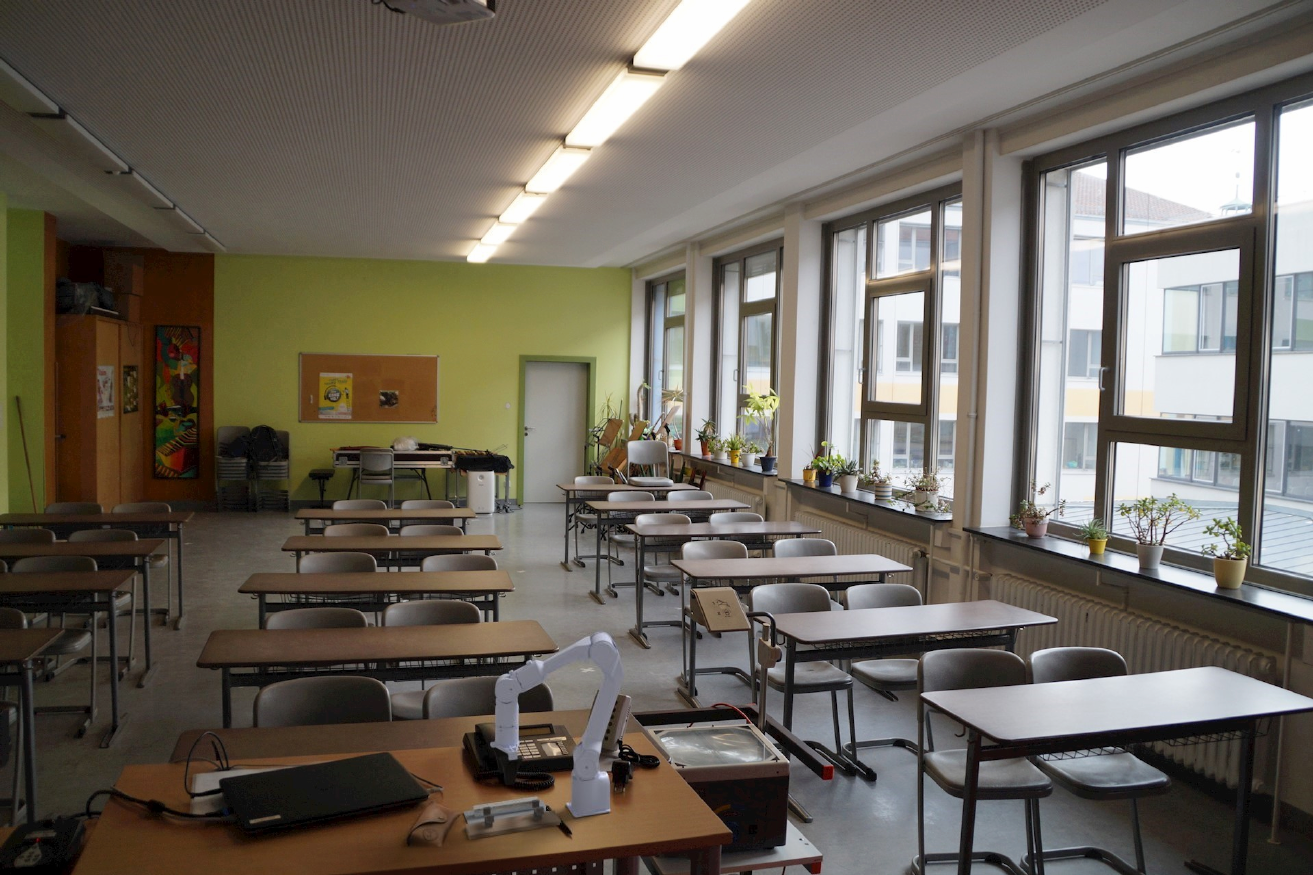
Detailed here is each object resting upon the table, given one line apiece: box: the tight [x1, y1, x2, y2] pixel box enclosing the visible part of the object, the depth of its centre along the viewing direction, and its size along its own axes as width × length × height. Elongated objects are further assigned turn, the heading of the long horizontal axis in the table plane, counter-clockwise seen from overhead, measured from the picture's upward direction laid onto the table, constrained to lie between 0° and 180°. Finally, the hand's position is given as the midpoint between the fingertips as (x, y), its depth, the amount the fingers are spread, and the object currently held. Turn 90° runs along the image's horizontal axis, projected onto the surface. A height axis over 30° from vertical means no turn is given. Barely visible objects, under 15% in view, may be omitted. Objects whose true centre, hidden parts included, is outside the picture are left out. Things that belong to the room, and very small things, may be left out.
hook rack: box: [464, 798, 562, 840], centre depth 216 cm, size 22×6×5 cm, turn 112°
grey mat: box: [463, 799, 547, 824], centre depth 223 cm, size 20×7×1 cm, turn 112°
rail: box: [472, 795, 539, 818], centre depth 223 cm, size 16×2×2 cm, turn 112°
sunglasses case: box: [406, 799, 462, 848], centre depth 214 cm, size 18×7×7 cm
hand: (506, 778), depth 223 cm, fingers open, 7 cm apart
